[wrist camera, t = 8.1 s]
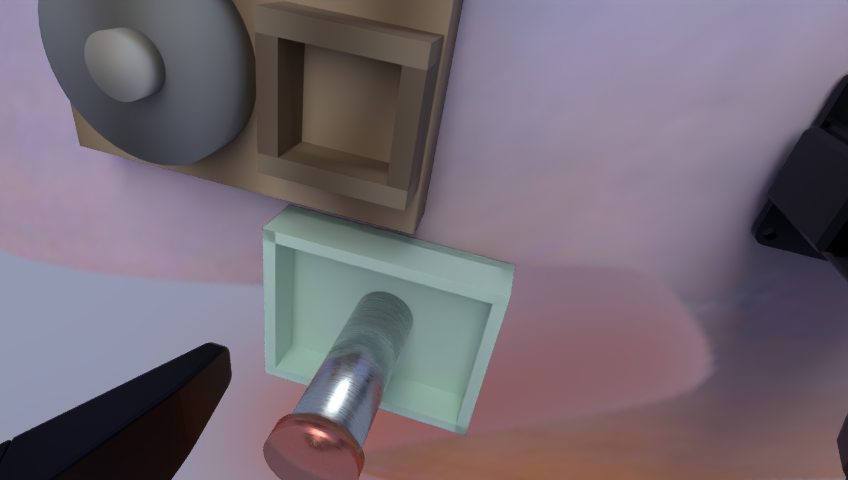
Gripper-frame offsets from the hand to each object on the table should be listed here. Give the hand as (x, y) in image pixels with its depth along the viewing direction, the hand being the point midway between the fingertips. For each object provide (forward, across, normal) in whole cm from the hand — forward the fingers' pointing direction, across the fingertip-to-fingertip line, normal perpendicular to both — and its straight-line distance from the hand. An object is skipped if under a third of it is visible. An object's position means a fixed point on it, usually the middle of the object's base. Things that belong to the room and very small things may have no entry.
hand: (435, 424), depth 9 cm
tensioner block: (+13, +11, -3) cm, 17 cm away
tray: (+13, +4, +8) cm, 16 cm away
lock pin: (+12, +4, +8) cm, 15 cm away
